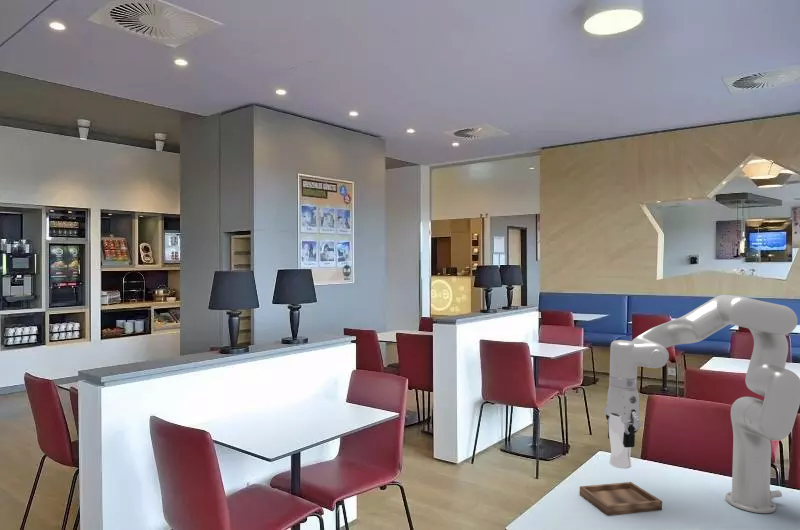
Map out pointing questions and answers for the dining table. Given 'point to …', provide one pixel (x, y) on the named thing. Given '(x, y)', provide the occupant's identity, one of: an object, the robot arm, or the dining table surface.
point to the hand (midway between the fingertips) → (620, 442)
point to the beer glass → (618, 443)
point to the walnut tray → (620, 498)
